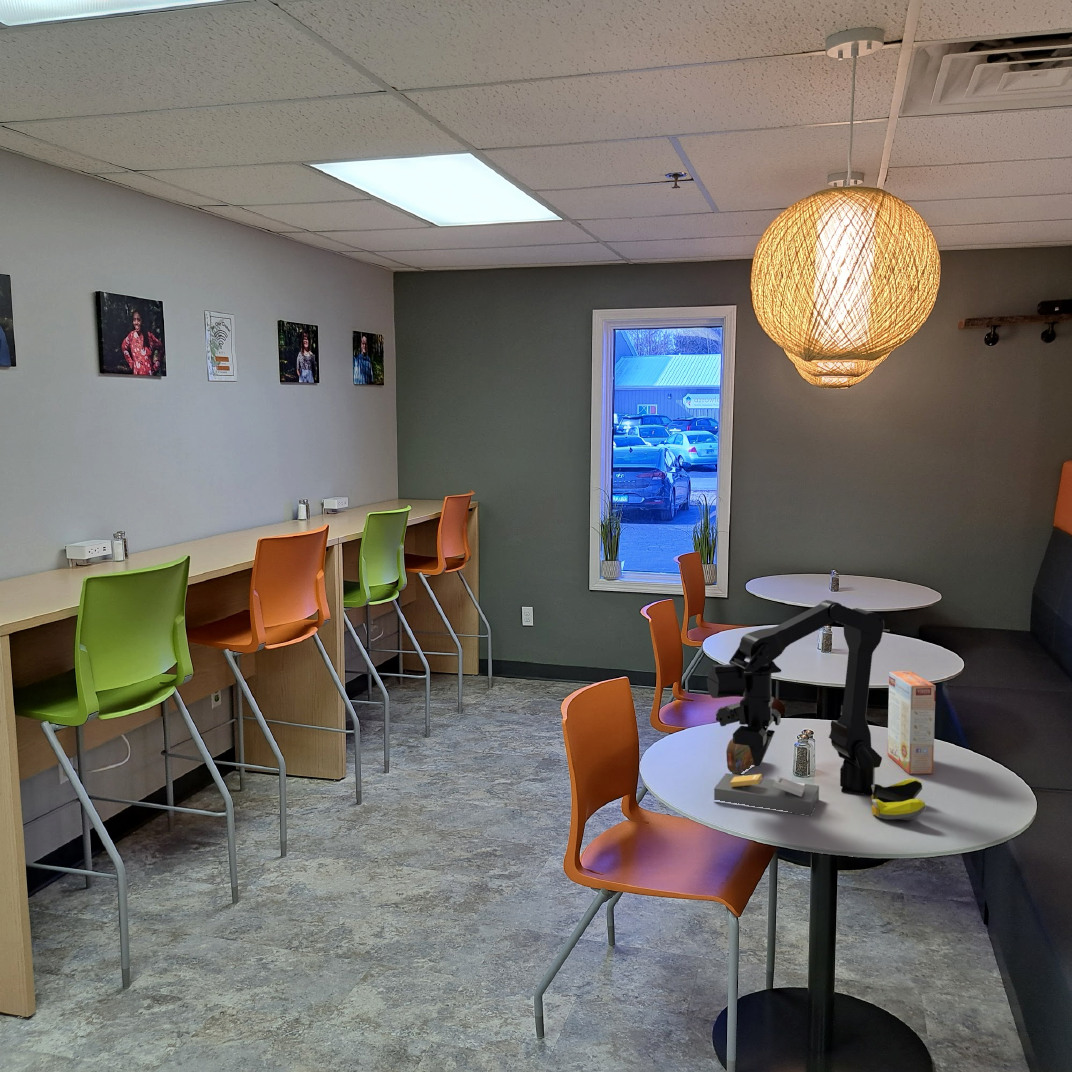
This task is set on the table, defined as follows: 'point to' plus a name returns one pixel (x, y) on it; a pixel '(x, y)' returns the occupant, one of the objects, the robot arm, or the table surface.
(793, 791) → the grey rocker
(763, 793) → the rocker switch panel
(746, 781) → the block
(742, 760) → the tin
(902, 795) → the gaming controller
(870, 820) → the table surface
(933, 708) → the cracker box
